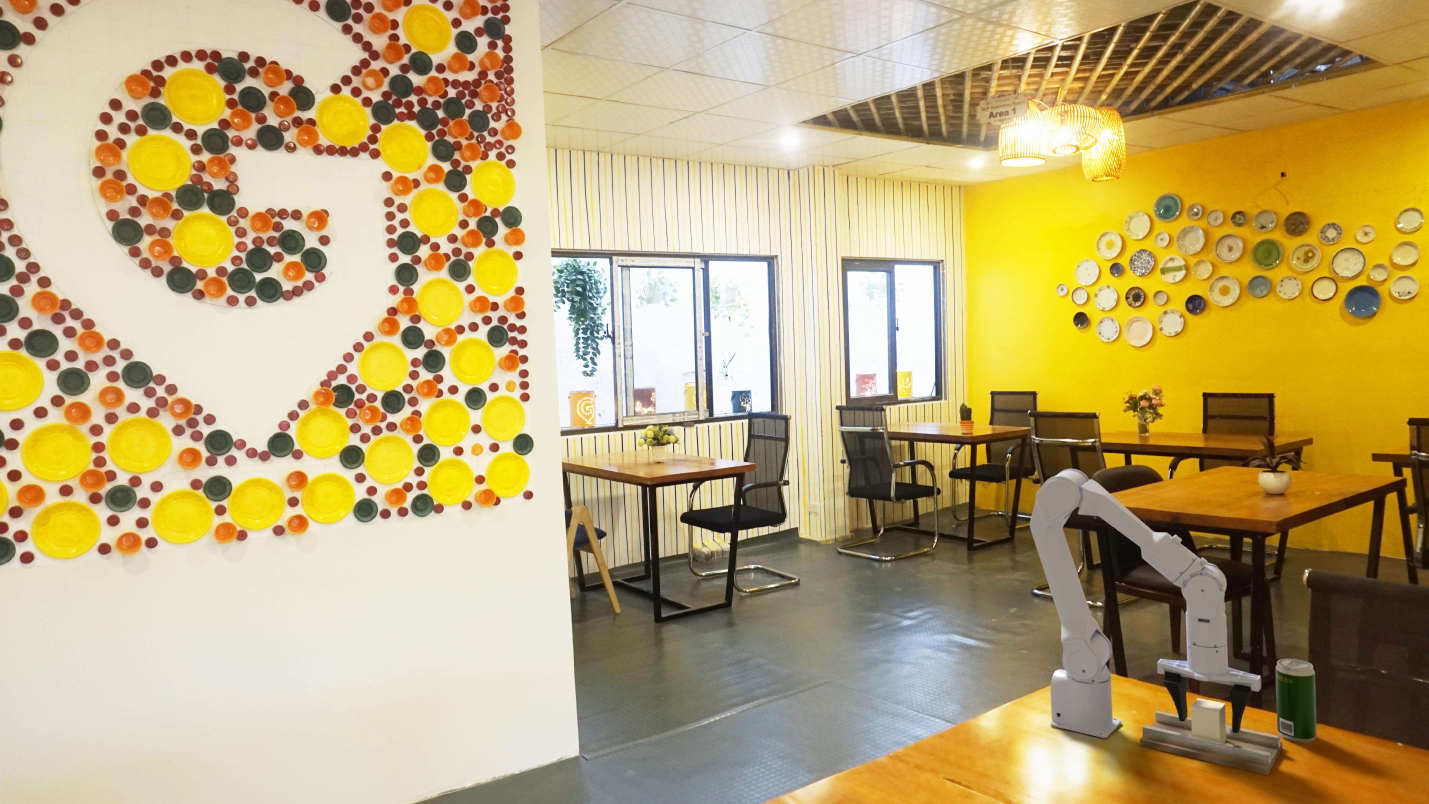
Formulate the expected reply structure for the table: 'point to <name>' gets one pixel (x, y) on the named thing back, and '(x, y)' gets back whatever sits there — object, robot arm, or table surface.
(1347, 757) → the table surface
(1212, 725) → the cream block
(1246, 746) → the track
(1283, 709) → the beer can
